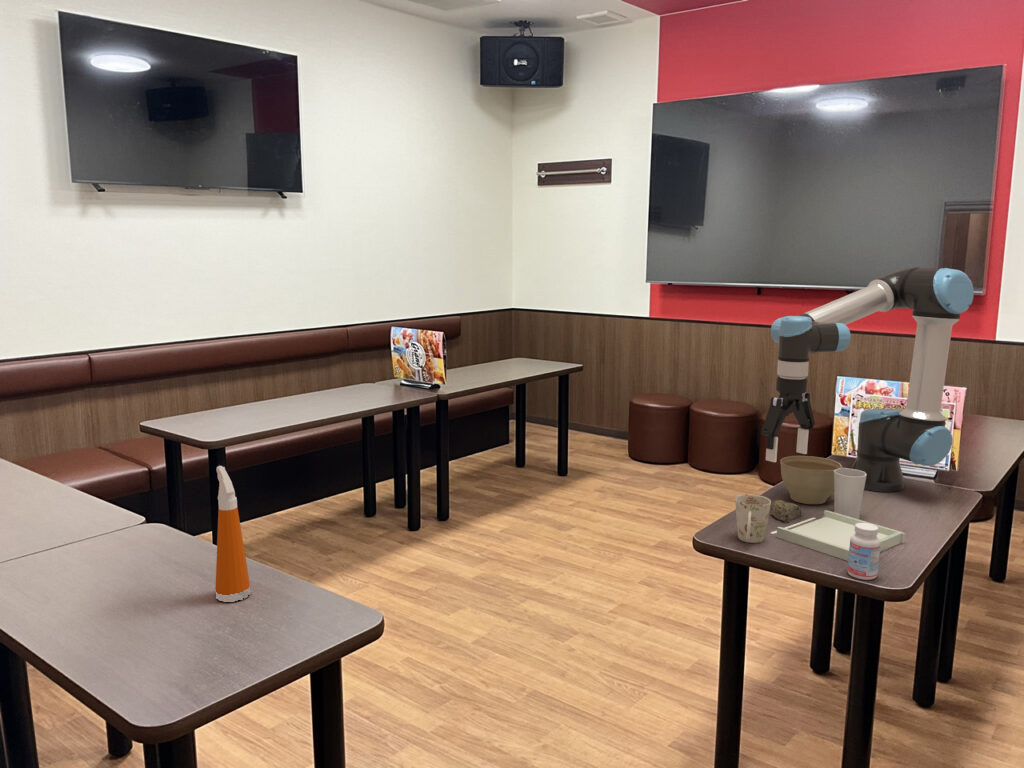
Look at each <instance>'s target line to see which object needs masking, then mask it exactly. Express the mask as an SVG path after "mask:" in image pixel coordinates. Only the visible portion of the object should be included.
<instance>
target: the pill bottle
mask: <svg viewBox="0 0 1024 768" xmlns="http://www.w3.org/2000/svg"><path fill="white" fill-rule="evenodd" d="M869 523H870V522H869ZM869 523H857V524H855V529H854V530H855V532H856V533H855V534H853V535H852V536H851V538H850V547H849V559H848V561H847V562H848V563H847V573H848V575H849V576H851V577H852V578H855V579H859V580H863V581H869V580H874V579H876V578H877V577H878V571H879V561H880V553H881V552H880V539H879V538H878V537H877V535H878V527H877V526H875V525H873V524H874V523H873V524H869Z"/></svg>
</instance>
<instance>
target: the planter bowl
mask: <svg viewBox="0 0 1024 768" xmlns="http://www.w3.org/2000/svg"><path fill="white" fill-rule="evenodd" d="M779 461H780V462H779V463H780V473H781V475H780V476H781V478H782V481H783V484H784V486H785V488H786V490H787V491H788V494H789V495H790V499H791V500H793V501H794V502H796V503H801V504H806V505H823V504H824V503H826V502H827V500H828V497H829V496H830V495H831V494H832V493H834V470H835V469H840V468H843V466H842V464H841V463H840V462H839V461H836V460H833V459H829V458H825V457H819V456H813V455H812V456H810V455H809V456H808V455H790V456H786V457H782V458H781V459H780V460H779Z"/></svg>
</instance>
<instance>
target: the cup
mask: <svg viewBox="0 0 1024 768" xmlns="http://www.w3.org/2000/svg"><path fill="white" fill-rule="evenodd" d="M866 475H867V474H866V473H865V472H863V471H860V470H856V469H852V468H843V467H842V468H840V469H835V470H834V491H833V493H834V494H833V502H834V504H833V512H835V513H838V514H842V515H845V516H849V517H852V518H855V519H859V520H860V516H861V509H862V505H863V497H864V492H865V491H864V490H865V489H864V486H865V481H866Z"/></svg>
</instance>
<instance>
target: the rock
mask: <svg viewBox="0 0 1024 768" xmlns="http://www.w3.org/2000/svg"><path fill="white" fill-rule="evenodd" d="M769 515H770V516H773V517H774V518H775V519H777V520H778V521H782V523H787V524H790V522H791V521H792V520H796V519H798V518H800V517H802V515H803V514H802V510H801V508H800V506H799V505H797V504H795V503H792V502H787V501H784V500H781V499H779V500H775V501H773V502H772V504H771V506H770V511H769Z"/></svg>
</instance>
